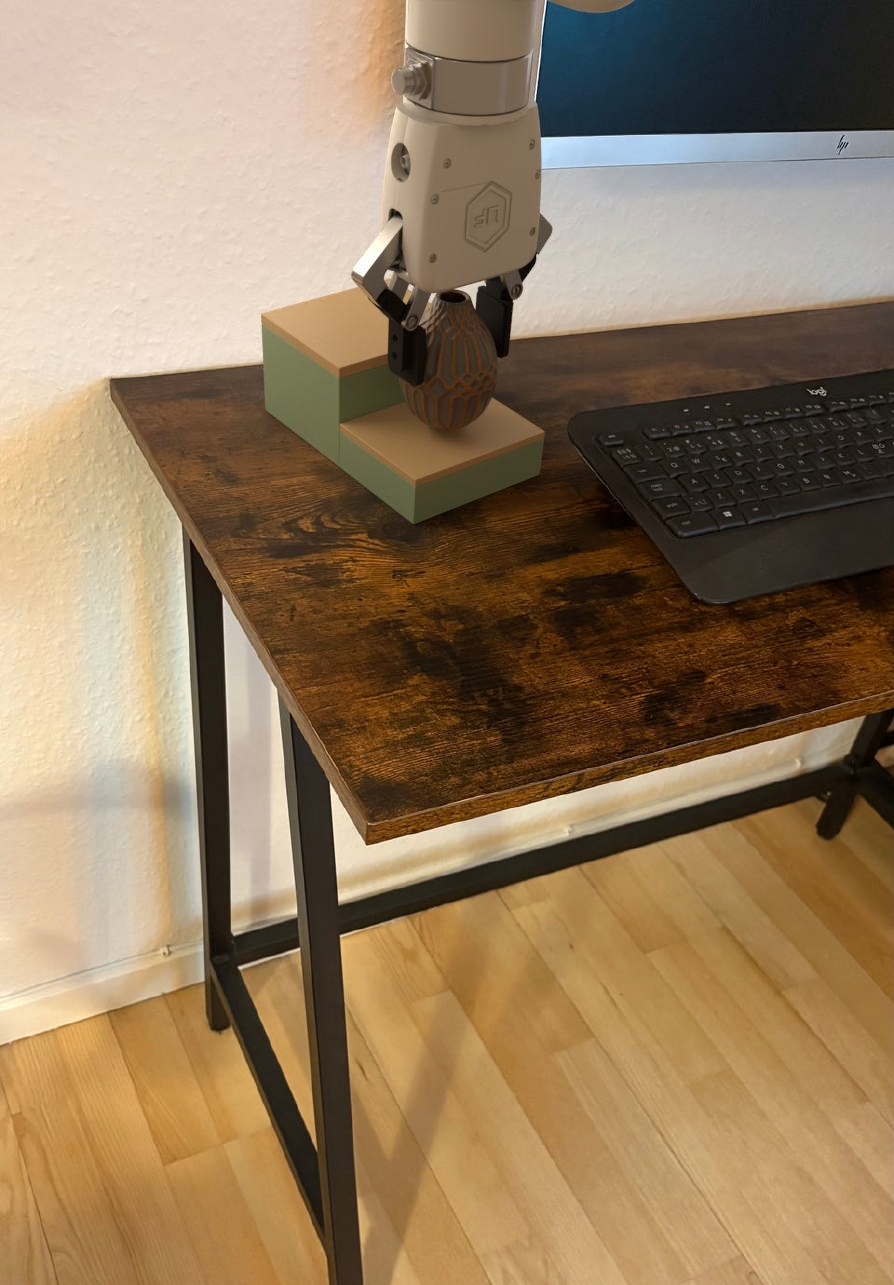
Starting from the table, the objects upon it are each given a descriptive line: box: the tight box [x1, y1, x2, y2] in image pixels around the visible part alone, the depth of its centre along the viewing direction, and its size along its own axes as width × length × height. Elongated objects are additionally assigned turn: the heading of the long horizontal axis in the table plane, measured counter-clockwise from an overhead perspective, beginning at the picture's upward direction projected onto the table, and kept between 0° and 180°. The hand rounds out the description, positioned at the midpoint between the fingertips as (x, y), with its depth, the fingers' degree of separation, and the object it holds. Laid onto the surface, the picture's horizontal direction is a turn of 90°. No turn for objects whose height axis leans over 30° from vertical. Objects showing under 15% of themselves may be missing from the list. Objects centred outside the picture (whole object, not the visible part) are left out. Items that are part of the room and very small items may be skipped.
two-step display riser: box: [260, 277, 546, 525], centre depth 91 cm, size 19×12×8 cm, turn 39°
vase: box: [399, 288, 499, 430], centre depth 85 cm, size 7×7×9 cm
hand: (449, 361), depth 85 cm, fingers closed on vase, 6 cm apart
